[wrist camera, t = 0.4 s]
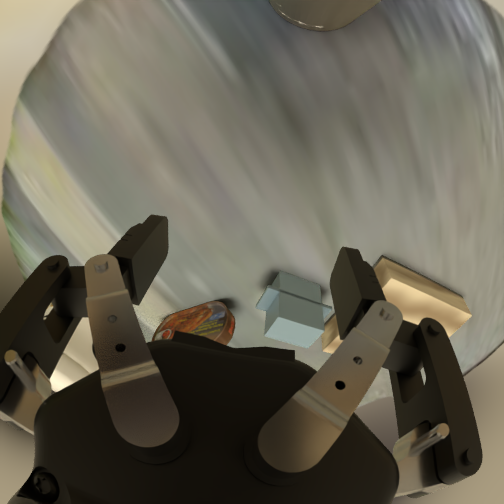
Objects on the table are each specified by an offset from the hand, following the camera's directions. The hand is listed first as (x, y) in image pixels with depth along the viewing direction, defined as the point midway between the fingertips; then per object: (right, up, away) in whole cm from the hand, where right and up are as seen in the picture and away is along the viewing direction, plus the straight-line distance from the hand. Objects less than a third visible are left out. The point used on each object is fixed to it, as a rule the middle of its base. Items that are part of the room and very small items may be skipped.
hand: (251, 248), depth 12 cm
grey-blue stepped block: (+6, -5, +25) cm, 26 cm away
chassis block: (+23, -10, +26) cm, 37 cm away
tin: (-9, -10, +31) cm, 34 cm away
